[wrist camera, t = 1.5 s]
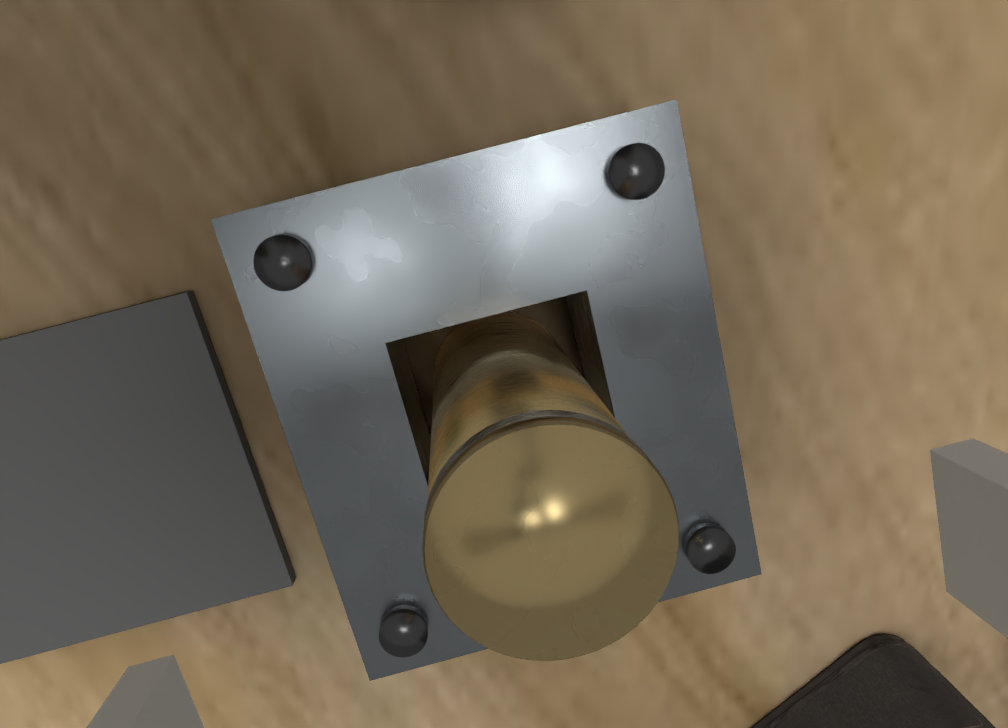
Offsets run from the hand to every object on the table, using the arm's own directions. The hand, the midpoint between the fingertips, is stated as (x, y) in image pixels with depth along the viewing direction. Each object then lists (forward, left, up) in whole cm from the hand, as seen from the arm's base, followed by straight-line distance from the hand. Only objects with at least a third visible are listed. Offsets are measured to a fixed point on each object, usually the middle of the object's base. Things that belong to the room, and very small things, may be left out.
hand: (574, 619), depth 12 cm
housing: (0, 0, -16) cm, 16 cm away
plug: (0, 0, -16) cm, 16 cm away
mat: (0, -16, -16) cm, 23 cm away
